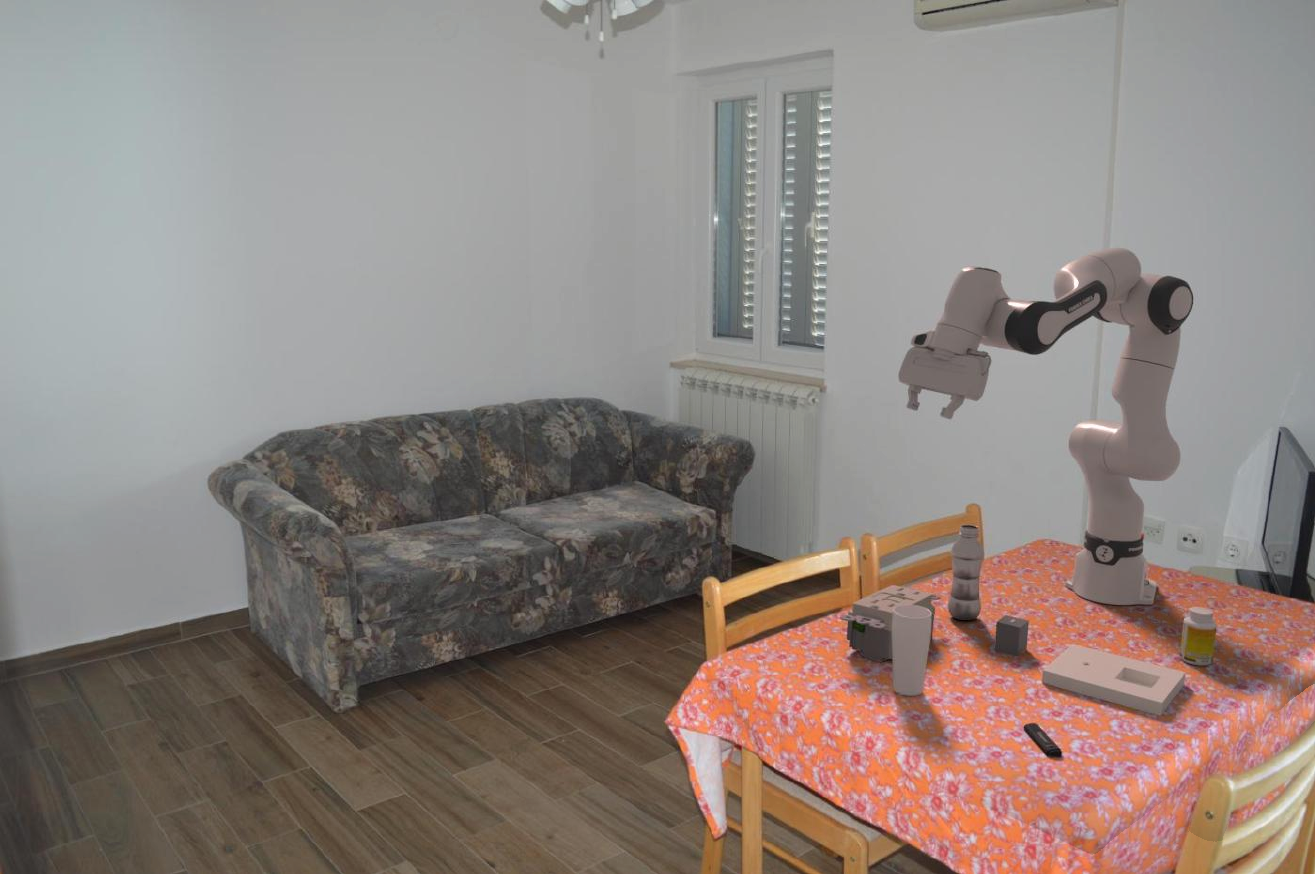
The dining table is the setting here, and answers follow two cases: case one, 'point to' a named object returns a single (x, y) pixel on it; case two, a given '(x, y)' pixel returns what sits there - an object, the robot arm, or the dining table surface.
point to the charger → (1011, 635)
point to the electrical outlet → (881, 619)
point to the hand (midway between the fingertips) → (928, 413)
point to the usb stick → (1042, 740)
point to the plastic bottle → (966, 574)
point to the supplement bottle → (1198, 637)
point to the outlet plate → (1115, 679)
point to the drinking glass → (910, 647)
